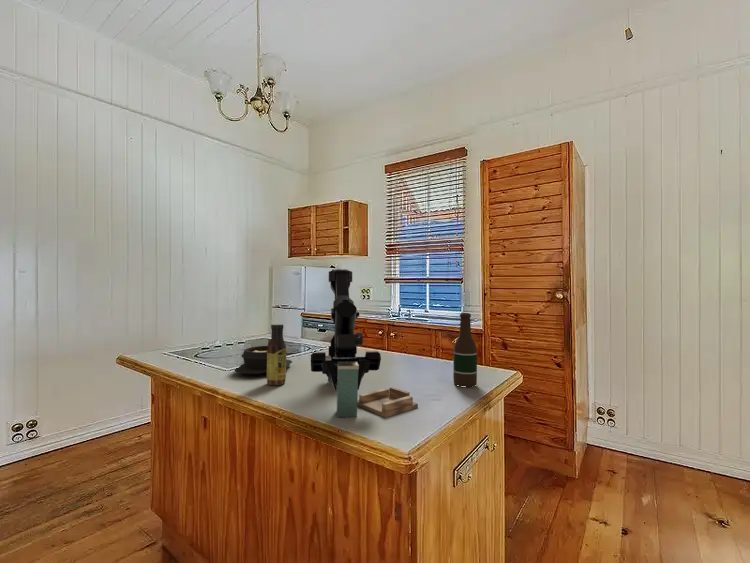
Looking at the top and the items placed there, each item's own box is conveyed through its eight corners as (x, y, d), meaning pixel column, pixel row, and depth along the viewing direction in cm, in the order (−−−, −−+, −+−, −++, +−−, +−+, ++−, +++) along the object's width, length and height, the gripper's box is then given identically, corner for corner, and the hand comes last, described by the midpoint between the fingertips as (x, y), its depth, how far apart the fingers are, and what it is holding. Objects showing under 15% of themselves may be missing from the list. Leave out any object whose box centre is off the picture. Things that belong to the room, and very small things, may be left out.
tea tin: (336, 410, 101) (337, 361, 101) (355, 410, 102) (356, 361, 102) (336, 417, 96) (338, 366, 96) (357, 417, 97) (358, 366, 97)
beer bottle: (478, 383, 129) (479, 312, 129) (474, 389, 122) (475, 314, 122) (456, 380, 133) (456, 311, 133) (450, 386, 126) (451, 313, 126)
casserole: (264, 381, 131) (264, 356, 131) (221, 376, 137) (221, 352, 137) (303, 366, 154) (303, 345, 154) (265, 362, 161) (265, 342, 161)
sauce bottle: (280, 387, 123) (281, 325, 123) (263, 385, 125) (263, 325, 125) (289, 381, 130) (289, 323, 130) (272, 380, 131) (272, 323, 131)
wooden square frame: (385, 396, 114) (386, 384, 114) (417, 407, 104) (417, 394, 104) (354, 404, 106) (354, 392, 106) (385, 417, 97) (385, 403, 97)
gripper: (311, 322, 102) (309, 373, 91) (380, 321, 104) (386, 371, 93) (311, 346, 109) (310, 396, 99) (376, 345, 112) (381, 394, 101)
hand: (346, 389), depth 98 cm, fingers closed on tea tin, 5 cm apart
